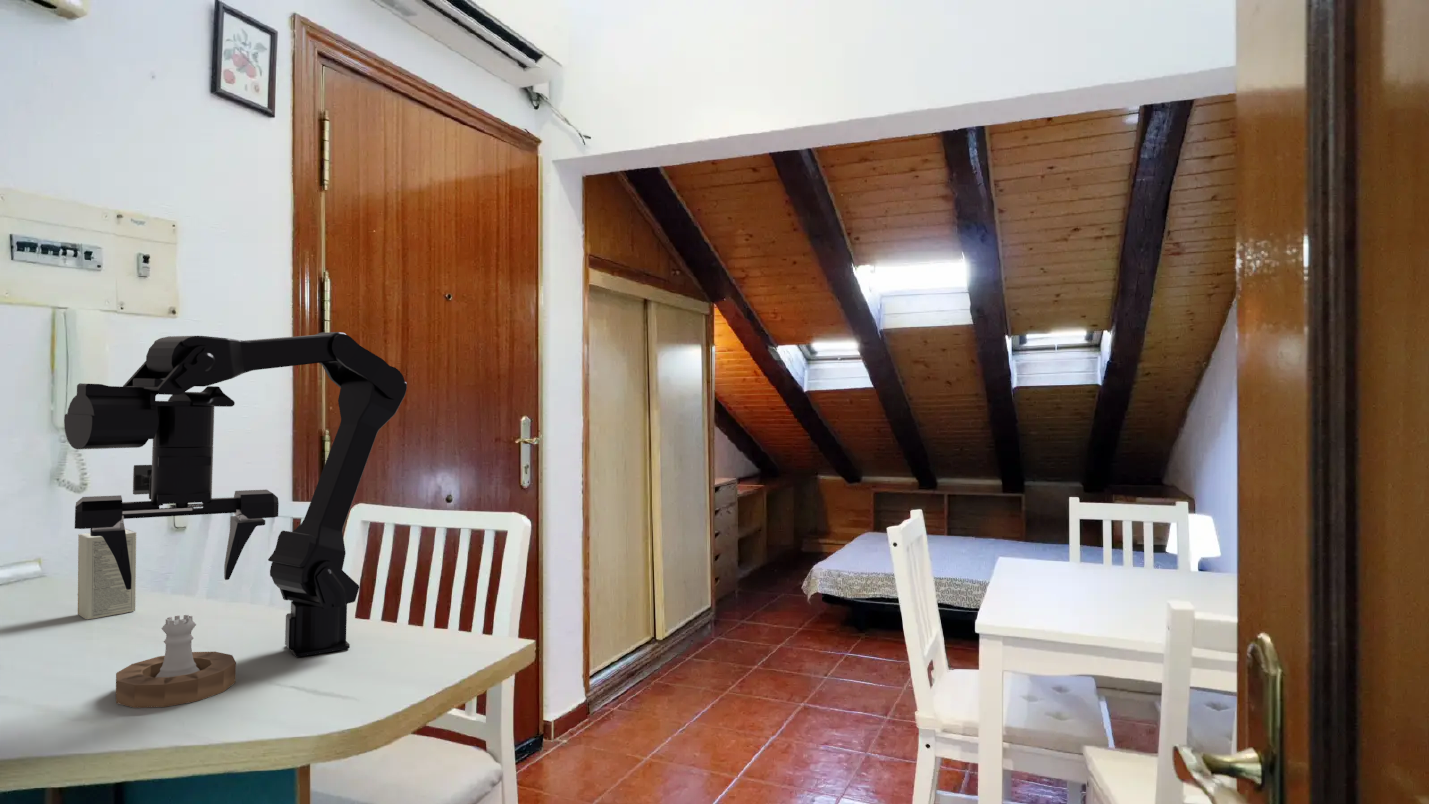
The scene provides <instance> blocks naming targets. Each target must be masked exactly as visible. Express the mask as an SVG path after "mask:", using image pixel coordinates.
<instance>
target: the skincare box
mask: <svg viewBox="0 0 1429 804" xmlns="http://www.w3.org/2000/svg"><path fill="white" fill-rule="evenodd" d="M125 533H126V540H127V547H128V554H129V561H130V569H131V576H132V580H131V589H130V590H127V589H126V587H125V584H124V581H123V578H122V576H121V573H120V570H119V568H118V565H117V562H116V560H115V557H114V555H113V554H112V552H111V550H110V549H109V547H108V545H107V543H106V542H105V540H104V538H103V537H102V536H90V532H87V533H86V532H85V533H79V534H78V547H77V549H78V550H77V553H78V554H77V559H78V560H77V561H78V562H77V563H78V565H77V579H78V580H77V615H79V616H80V617H81V618H83V619H85V620H92V619H99V618H104V617H109V616H113V615H121V614H125V613H131V612H136V602H137V601H136V598H137V597H136V595H137V593H136V591H137V589H136V588H137V586H136V584H137V583H136V582H137V580H136V579H137V578H136V577H137V532H136V531H133V530H130V529H128V528H125Z"/></svg>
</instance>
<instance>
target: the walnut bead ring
mask: <svg viewBox="0 0 1429 804" xmlns="http://www.w3.org/2000/svg"><path fill="white" fill-rule="evenodd" d="M192 655H193V660H194V662H195V663H196V667H197V668H199V670H200V671H197V672H194V673H191V674H186V675H180V676H174V677H156V675H157V674H158V673H159V672H160V668H161V667H162V665H163V662H164V657H165V655H160V656H159V655H158V656H156V657H151V658H149V659H145V660H141V661H138V662H134V663H131V664H130V665H128V666H125V667H124V668H122V669H121V670H119V671H117V672H115V701H116V702H115V704H118V705H121V706H127V707H129V708H134V709H137V708H140V709H141V708H143V709H144V708H165V707H166V708H168V707H171V706H178V705H183V704H188V703H194V702H199V701H201V700H204V699H208V698H210V697H212V696H216V695H218V694H222V693H223V692H225V691H227V690H228V689H229V688H230V687H231V686H233V685H234V684H236V674H237V673H236V670H237V669H236V668H237V666H236V665H237V661H236V660H235V657H234V656H233V654H229V653H225V652H224V653H223V652H219V651H192Z"/></svg>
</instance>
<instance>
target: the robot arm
mask: <svg viewBox="0 0 1429 804" xmlns="http://www.w3.org/2000/svg"><path fill="white" fill-rule="evenodd" d="M312 364H320V365H321V366H322V368H323V370H324V371H325V373H326V375H327V377H328V379H329V380H330V381H332V382H333V383H334V384H335V385H336V386H338V388H339V389H340V390H339V394H338V400H337V402H338V407H339V414H340V423H339V426H338V429H337V431H336V434H335V436H334V439H333V442H332V445H331V447H330V450H329V453H328V456H327V458H326V459H325V460H326V461H325V463H324V466H323V468H322V471H321V474H320V476H319V479H318V481H317V484H316V487H315V490H314V493H313V495H312V498H311V499H310V500H311V501H310V503H309V506H308V508H307V510H306V514H305V516H304V518H303V520H302V522H301V523H300V524H299V525H298V526H297V527H296V528H295V529H294V530H293V531H289V530H281V531H280V533H279V534H278V536H277V540H276V541H277V542H276V544H275V545H276V546H275V549H273V550H274V551H273V552H272V554H271V555H270V557H268V559H267V560H268V562H271V564H270V568H269V577H271V579H272V582H273V584H274V585H275V586H276V587H277V588H279V590H280V591H279V592H280V593H281V596H282V599H283V600H284V601H290V612H289V613H286V614H285V630H284V632H285V633H284V634H285V636H284V645H285V646H286V647H287V649H288V650H289V651H290V652H291V653H292V655H294V657H295V658H299V657H306V656H312V655H317V654H318V655H319V654H324V653H330V652H336V651H342V650H348V649H350V645H351V644H350V643H349V642H348V641H347V620H348V618H347V617H348V616H347V615H348V611H347V610H348V604H351V603H355V602H356V599H357V596H358V592H359V590H360V585H359V584H358V583H356V581H355V580H354V579H352V578H351V577H350V576H349V575H348V574H347V572H345V571H344V570H343V568H344V563H345V558H346V554H347V553H346V547H345V541H344V540H345V539H344V534H343V531H344V527H345V523H346V521H347V518H348V516H349V512H350V510H351V507H352V505H353V501H354V499H355V496H356V493H357V490H358V487H359V486H360V482H361V479H362V477H363V473H364V470H365V468H366V465H367V463H368V460H369V457H370V454H371V451H372V449H373V446H374V444H375V441H376V438H377V435H378V433H379V431H380V430H381V429H382V427H384V426H385V425H386V424H387V423H388V422H389V421H390V420H391V419H392V418H393V417H394V416H395V415H396V413H397V412H398V410H399V408H400V406H401V404H402V402H403V400H404V398H405V396H406V394H407V389H408V384H407V381H406V380H405V378H404V375H403V374H402V372H401V370H399V369H398V368H396V367H394V366H392V365H389V364H388V363H387V362H386V360H384V359H383V358H382V357H380V356H378V355H377V354H375V353H373V352H371V351H369V349H366V348H365V347H363V346H361V344H359V343H358V342H357V341H356V340H355V339H354V338H352V337H351V336H350V335H348V334H346V333H345V332H340V331H332V332H331V331H328V332H326V331H325V332H318V333H316V334H311V335H299V336H298V335H297V336H286V337H271V338H270V337H269V338H260V339H259V338H258V339H247V340H246V339H245V340H241V339H234V338H229V337H218V336H209V335H208V336H207V335H206V336H205V335H176V336H175V335H173V336H165V337H160V338H158V339H156V340H155V341H154V342H153V344H152V345H150V347H149V348H148V350H147V353H146V358H145V361H144V362H143V363H142V365H141V366H140V367H139V368H138V369H137V370H136V371H135V372H134V373H133V374H132V376H131V377H130V378H129V379H128V380H127V381H126V382H125V383H124V384H123V385H122V386H119V385H118V386H114V385H105V384H102V383H101V384H100V383H78V384H77V385H76V395H75V396H73V398H72V399H71V401H70V402H69V405H68V408H67V413H65V414H64V417H63V419H64V424H63V425H64V433H65V436H66V440H67V441H68V444H69V445H70V447H72V448H73V449H75V450H99V449H101V450H103V449H130V448H131V449H132V448H133V449H134V448H135V449H137V448H142V447H143V446H145V445H146V444H147V442H149V440H152V451H151V452H152V455H151V464H134V465H133V471H132V472H133V473H132V494H133V495H148V500H147V501H146V500H144V501H123V496H122V495H97V496H82V497H81V498H80V499H78V500H77V501H76V502H75V506H74V508H75V509H74V529H77V530H85V529H89V530H90V532H89V533H90V536H102V537H103V538H104V540H105V542H106V543H107V545H108V547H109V549H110V550H111V552H112V554H113V555H114V557H115V560H116V562H117V565H118V568H119V570H120V573H121V576H122V578H123V581H124V584H125V587H126V589H127V590H130V589H131V580H132V576H131V569H130V561H129V554H128V547H127V540H126V533H125V529H126V528H125V523H124V520H127V519H128V520H129V519H146V518H147V519H148V518H163V517H165V518H166V517H167V518H168V517H181V516H182V517H183V516H199V515H200V516H201V515H203V516H204V515H216V514H217V515H218V514H219V515H220V514H234V515H230V518H229V519H230V520H229V532H228V533H229V534H228V541H227V547H226V552H225V553H226V554H225V559H224V566H223V571H224V572H223V575H224V577H223V578H224V580H225V581H228V580H230V578H231V576H232V574H233V572H234V569H235V567H236V565H237V563H238V560H239V558H240V556H241V554H242V551H243V549H244V547H245V546H246V544H247V542H248V541H249V539H250V537H251V535H252V534H253V532H254V530H255V529H256V527H260V526H265V525H266V519H269V518H272V519H273V518H278V517H279V505H280V504H279V503H280V502H279V498H278V496H277V495H276V494H275V493H273V492H271V491H269V490H268V489H249V490H248V489H247V490H246V489H245V490H235V491H234V494H233V496H231V497H213V496H212V495H213V471H214V469H213V465H214V431H215V430H214V429H215V426H214V424H215V407H217V408H218V407H219V408H220V407H221V408H223V407H226V408H227V407H228V408H229V407H230V408H231V407H234V406H235V404H236V403H235V400H233V399H232V398H231V397H230V396H228V395H227V394H225V392H224V391H222V389H221V387H220V386H219V385H218V386H214V384H218V383H222V382H224V381H225V382H226V381H228V380H232V379H235V378H237V377H238V376H241V375H244V374H246V373H248V372H252V371H258V370H268V369H276V368H286V367H295V366H303V365H304V366H305V365H312ZM211 385H212V386H211ZM194 387H202V388H203V387H205V388H204V389H203V390H201V391H199V392H198V391H188V390H190V389H192V388H194ZM157 395H168V396H169V395H171V396H170V397H169V398H168V400H156V396H157ZM212 497H213V498H212ZM164 505H169V507H165V508H163V507H161V508H160V506H164Z"/></svg>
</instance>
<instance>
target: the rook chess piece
mask: <svg viewBox="0 0 1429 804" xmlns="http://www.w3.org/2000/svg"><path fill="white" fill-rule="evenodd" d="M196 626H197V623H195V622H194V619H193V615H189V614H185V615H183V618H181V615H174V619H173V617H172V616H169V617H167V618H166V619H165V624H164V625H162V627H161V630H162V632H163V633H164V634H165V639H164V641H163V643H164V644H165V652H164V656H165V657H164V662H163V665H162V667H161V668H160V672H159V673H158V674H157V675H156V677H174V676H180V675H186V674H191V673H194V672H197V671H200V670H199V668H197V667H196V663H195V662H194V660H193V655H192V652H193V649H192V648H193V647H192V641H193V640H194V637H193V636H192V631H193V630H194V628H195V627H196Z"/></svg>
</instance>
